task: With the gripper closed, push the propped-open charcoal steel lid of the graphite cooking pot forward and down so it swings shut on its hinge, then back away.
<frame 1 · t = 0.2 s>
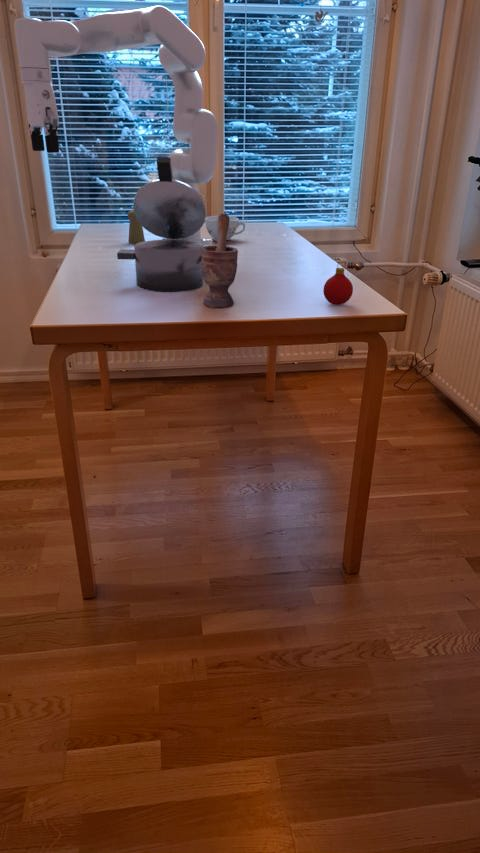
hand: (45, 151, 156), 31 cm above the table, fingers open, 9 cm apart
pot: (170, 283, 157), on the table
olive green tall piece: (136, 243, 210), on the table
lid: (169, 199, 151), point 21 cm above the table, hinge at 55.0°
mortar and pestle: (217, 302, 142), on the table
teacup: (224, 240, 217), on the table
christmas ornament: (336, 305, 142), on the table
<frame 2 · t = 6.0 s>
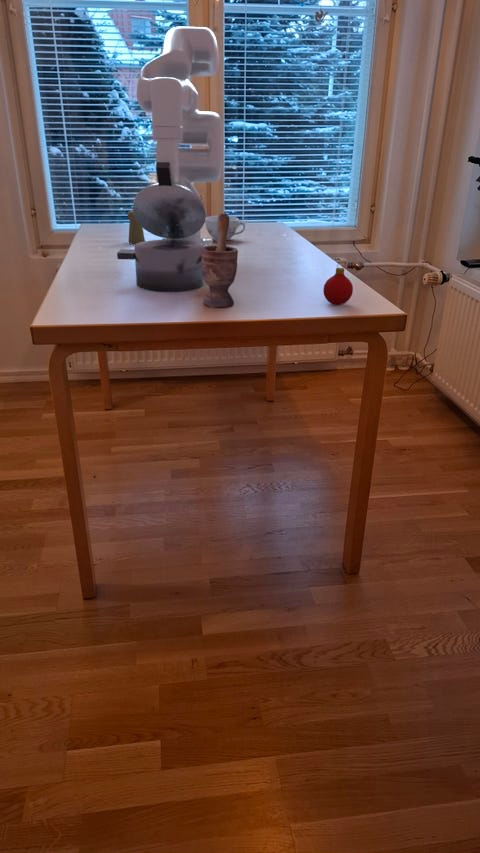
hand: (170, 211, 154), 18 cm above the table, fingers closed
lid: (168, 202, 150), point 20 cm above the table, hinge at 50.6°, touching gripper
everything else where it was.
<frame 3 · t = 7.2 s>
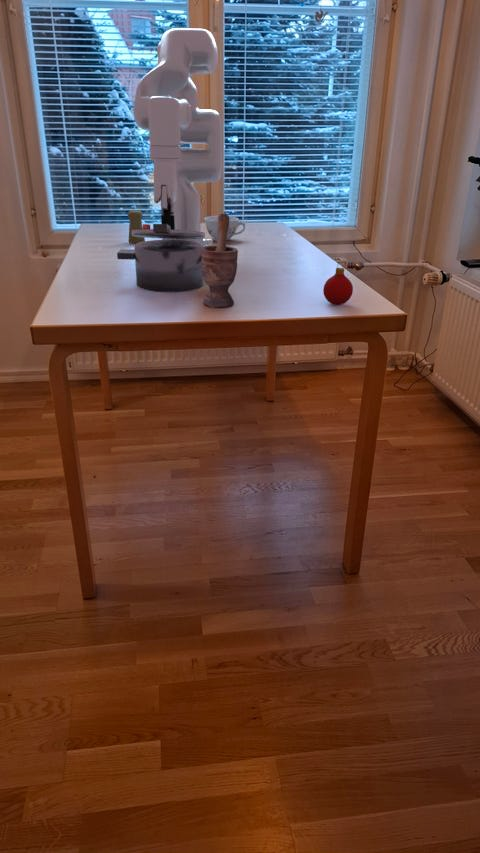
hand: (168, 231, 151), 14 cm above the table, fingers closed
lid: (167, 230, 149), point 14 cm above the table, hinge at 12.8°, touching gripper
everything else where it was.
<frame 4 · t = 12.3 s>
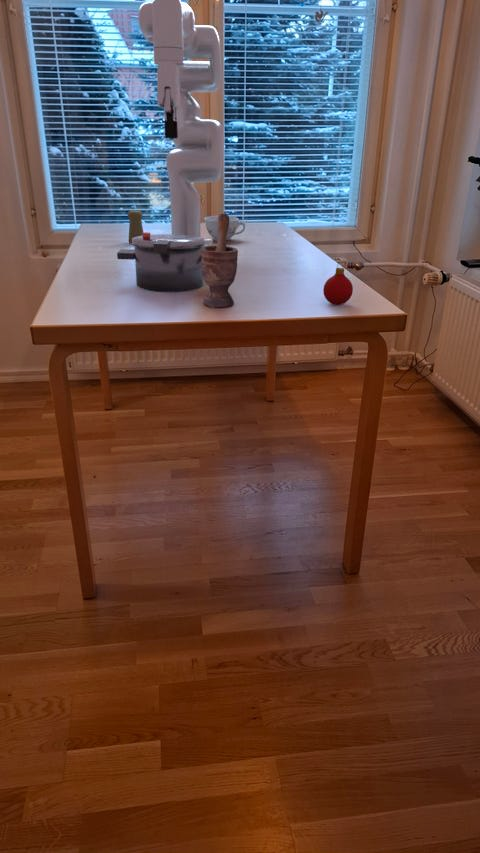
hand: (171, 137, 156), 35 cm above the table, fingers closed
lid: (167, 239, 149), point 12 cm above the table, hinge at 2.3°
everything else where it was.
at the end: lid at +2° (first picture: +55°) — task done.
